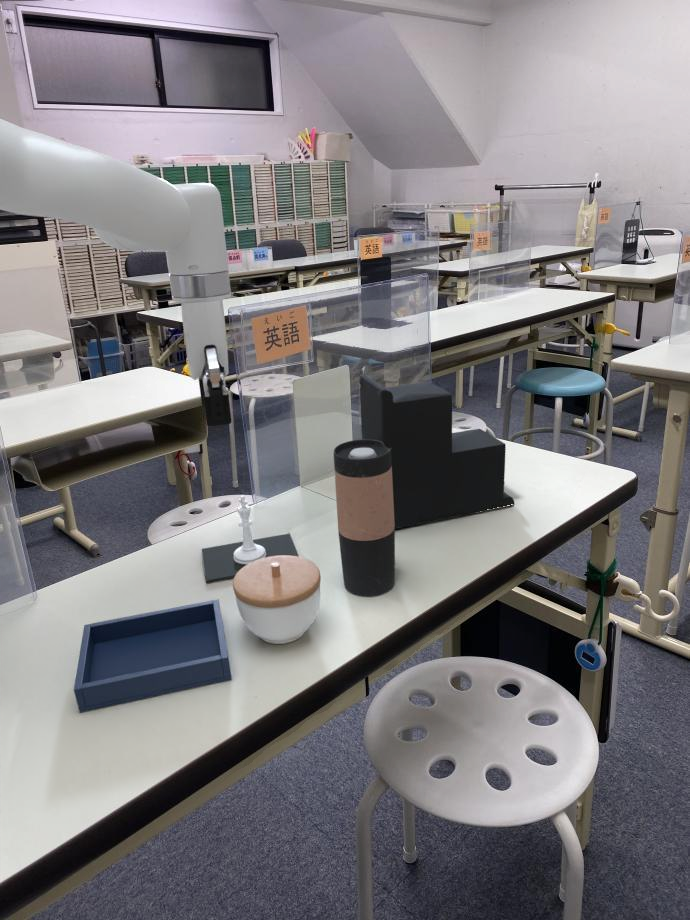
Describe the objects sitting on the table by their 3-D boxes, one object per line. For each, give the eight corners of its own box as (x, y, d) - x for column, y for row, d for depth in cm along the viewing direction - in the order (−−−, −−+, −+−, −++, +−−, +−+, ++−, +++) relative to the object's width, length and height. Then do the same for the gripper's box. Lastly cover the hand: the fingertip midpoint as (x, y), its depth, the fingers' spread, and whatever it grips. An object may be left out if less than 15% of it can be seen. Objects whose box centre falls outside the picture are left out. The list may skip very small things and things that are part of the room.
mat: (206, 583, 98) (206, 580, 98) (201, 551, 107) (201, 548, 107) (302, 565, 101) (301, 562, 101) (289, 536, 110) (289, 533, 110)
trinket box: (291, 596, 94) (285, 535, 90) (342, 629, 86) (337, 563, 82) (223, 629, 87) (214, 565, 84) (271, 668, 80) (263, 599, 76)
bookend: (484, 483, 124) (486, 356, 116) (515, 506, 115) (520, 370, 106) (363, 507, 118) (355, 374, 110) (385, 533, 109) (379, 391, 100)
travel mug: (333, 593, 94) (323, 457, 86) (353, 565, 100) (345, 437, 93) (386, 601, 91) (380, 462, 84) (403, 572, 97) (399, 441, 90)
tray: (79, 713, 74) (73, 690, 73) (89, 645, 86) (84, 624, 85) (231, 679, 78) (228, 657, 77) (221, 619, 89) (218, 598, 88)
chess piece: (253, 544, 107) (246, 486, 103) (272, 555, 103) (265, 495, 100) (227, 556, 104) (218, 497, 100) (245, 568, 100) (237, 506, 97)
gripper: (169, 282, 95) (185, 401, 101) (172, 297, 79) (191, 437, 85) (223, 278, 97) (236, 395, 103) (237, 292, 81) (251, 429, 87)
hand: (216, 414), depth 94 cm, fingers open, 9 cm apart
